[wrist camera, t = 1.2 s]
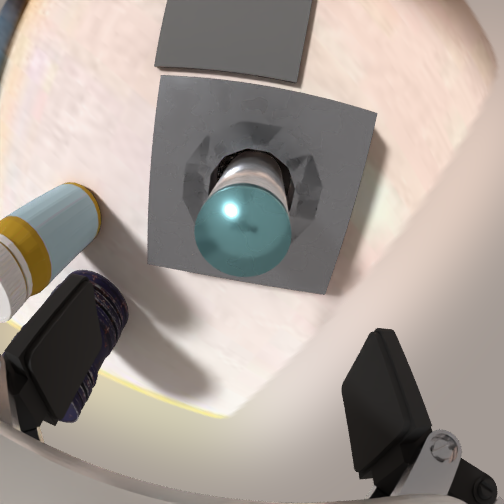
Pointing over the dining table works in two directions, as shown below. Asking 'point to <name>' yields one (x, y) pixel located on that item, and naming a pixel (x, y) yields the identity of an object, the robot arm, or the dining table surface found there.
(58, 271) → the bottle
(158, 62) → the mat
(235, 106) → the housing
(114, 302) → the storage jar
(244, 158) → the plug
